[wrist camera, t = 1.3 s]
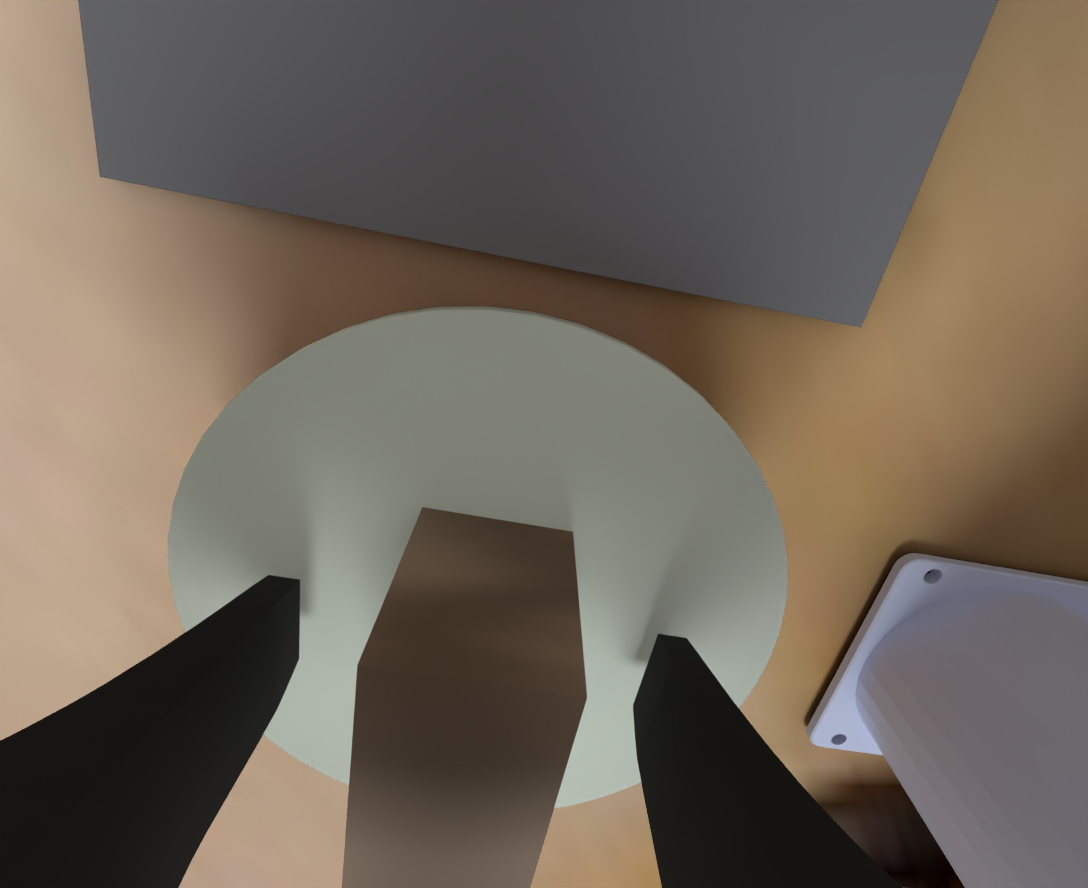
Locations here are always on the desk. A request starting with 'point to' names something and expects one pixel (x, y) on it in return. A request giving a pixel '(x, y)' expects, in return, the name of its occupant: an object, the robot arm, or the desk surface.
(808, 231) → the mat
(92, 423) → the desk surface
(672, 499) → the lid
